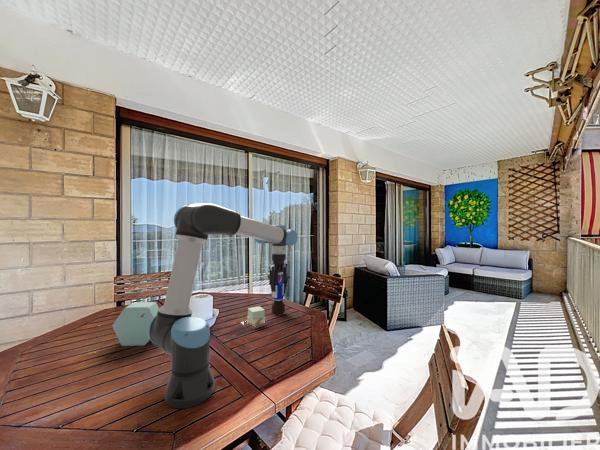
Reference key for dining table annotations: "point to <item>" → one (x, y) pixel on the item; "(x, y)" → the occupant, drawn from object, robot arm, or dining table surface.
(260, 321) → the block bottom
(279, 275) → the beverage can
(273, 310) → the lantern
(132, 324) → the mint green hexagonal block
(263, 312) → the block top
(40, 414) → the dining table surface
